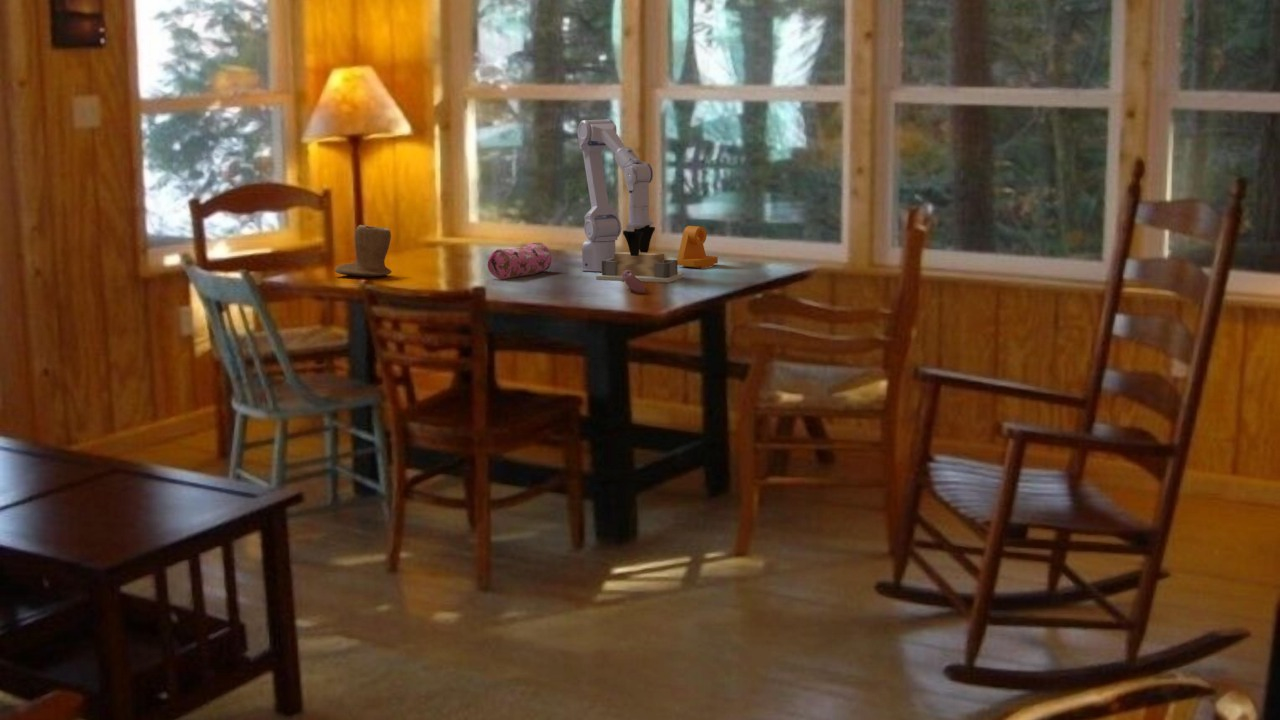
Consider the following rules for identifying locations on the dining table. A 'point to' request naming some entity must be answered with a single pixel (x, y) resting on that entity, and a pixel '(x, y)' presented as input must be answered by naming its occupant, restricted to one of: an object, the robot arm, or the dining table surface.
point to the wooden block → (637, 263)
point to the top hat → (369, 253)
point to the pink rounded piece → (632, 282)
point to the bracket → (694, 249)
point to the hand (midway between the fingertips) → (639, 254)
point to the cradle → (662, 274)
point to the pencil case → (519, 261)
